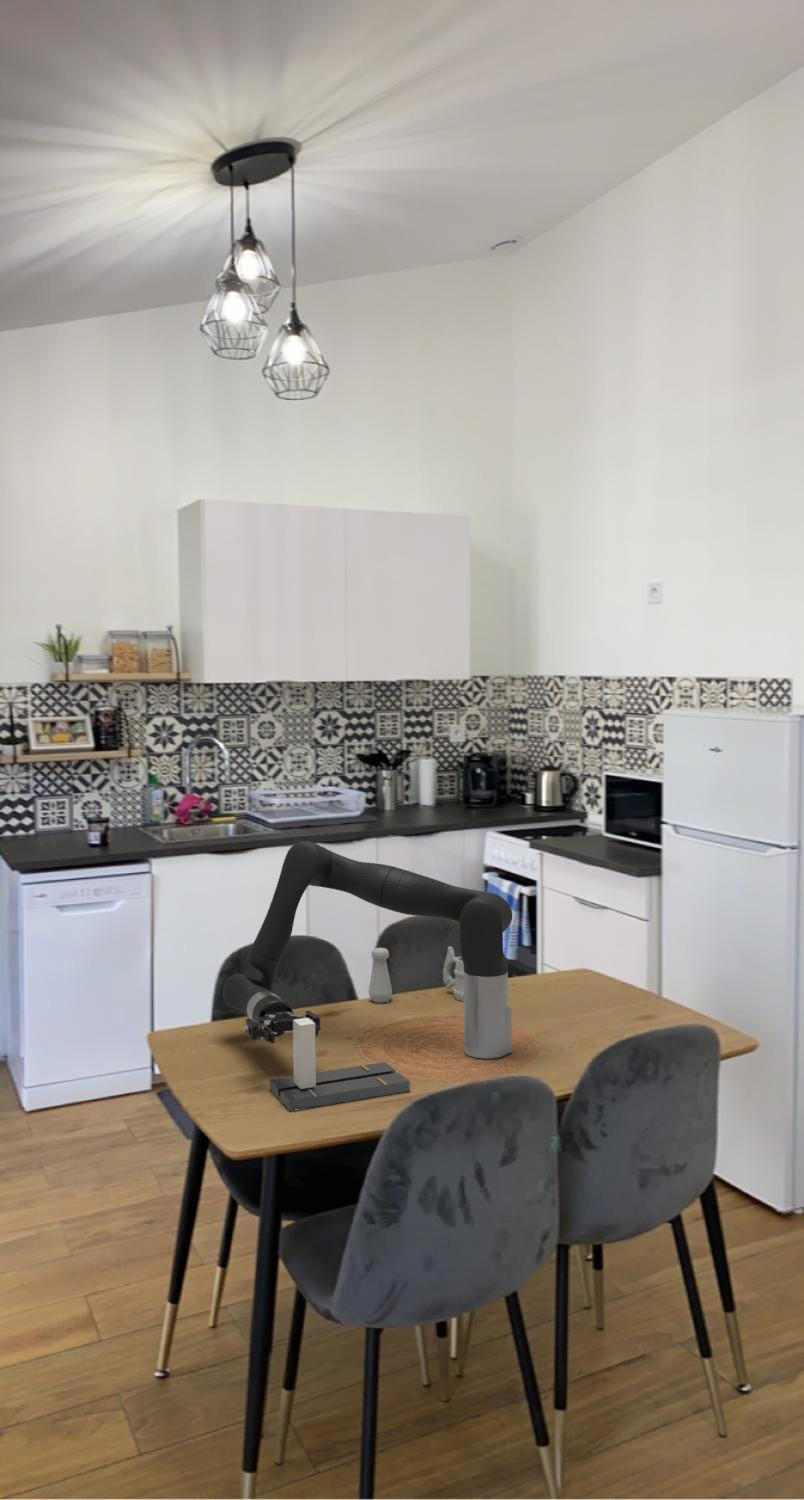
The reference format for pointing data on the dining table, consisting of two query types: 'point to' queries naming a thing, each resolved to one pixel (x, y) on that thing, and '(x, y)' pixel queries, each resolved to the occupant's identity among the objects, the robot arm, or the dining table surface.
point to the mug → (458, 974)
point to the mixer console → (341, 1086)
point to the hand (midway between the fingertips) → (294, 1035)
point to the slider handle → (304, 1053)
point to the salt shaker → (380, 977)
